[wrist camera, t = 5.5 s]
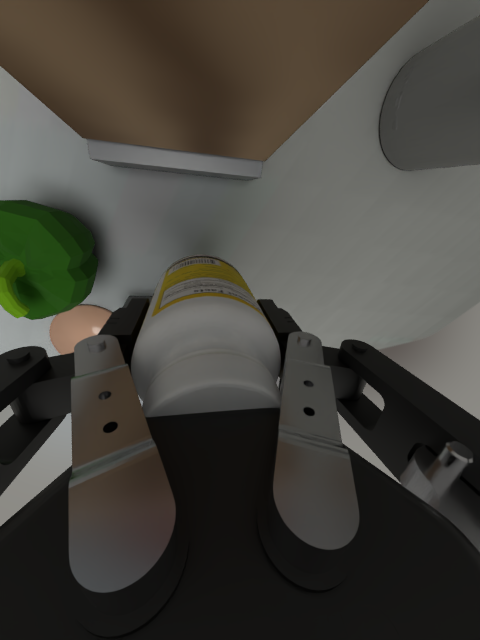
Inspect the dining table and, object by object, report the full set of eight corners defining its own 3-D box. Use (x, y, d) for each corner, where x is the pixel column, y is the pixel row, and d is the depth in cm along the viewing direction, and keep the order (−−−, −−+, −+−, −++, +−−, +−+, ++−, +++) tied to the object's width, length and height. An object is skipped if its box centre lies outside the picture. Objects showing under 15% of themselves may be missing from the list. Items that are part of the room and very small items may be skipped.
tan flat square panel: (265, 161, 18) (266, 144, 17) (489, -59, 4) (513, -147, 4) (82, 138, 15) (80, 118, 15) (-635, -491, 2) (-792, -780, 2)
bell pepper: (-4, 191, 20) (-152, 191, 11) (104, 203, 22) (46, 210, 13) (25, 287, 24) (-70, 341, 15) (116, 290, 26) (77, 341, 17)
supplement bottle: (211, 348, 17) (227, 514, 8) (139, 305, 14) (55, 472, 6) (264, 289, 15) (352, 416, 7) (193, 231, 13) (188, 308, 4)
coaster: (125, 304, 26) (124, 306, 26) (133, 363, 30) (133, 365, 30) (42, 304, 25) (39, 305, 24) (61, 366, 28) (60, 368, 28)
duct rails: (249, 155, 22) (264, 146, 18) (236, 312, 29) (244, 333, 25) (107, 136, 20) (83, 121, 15) (131, 312, 27) (119, 336, 23)
